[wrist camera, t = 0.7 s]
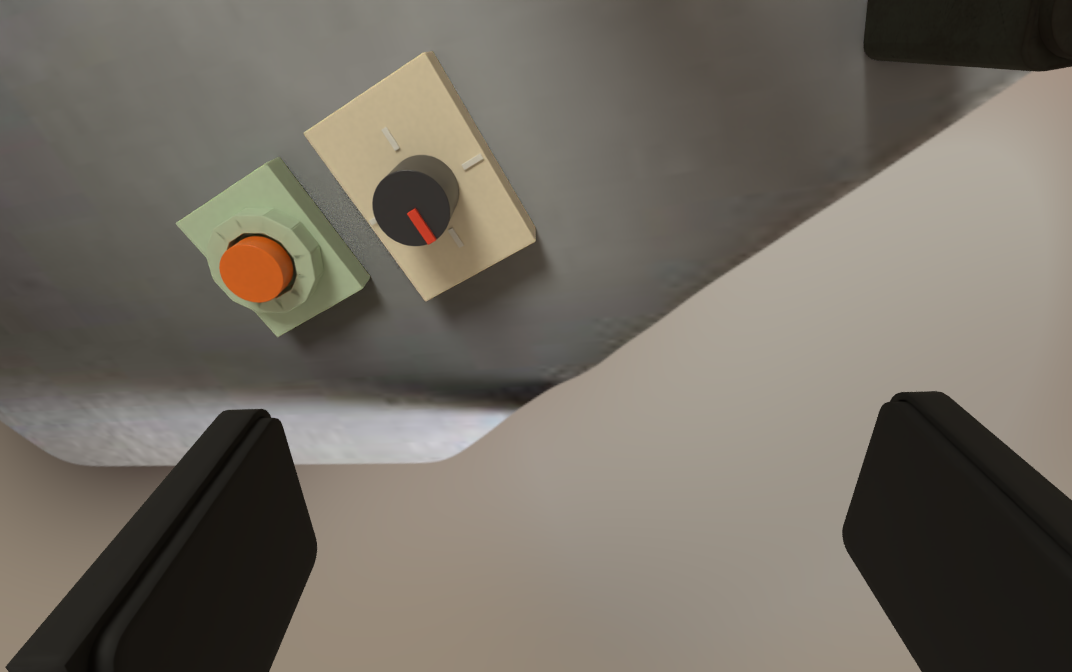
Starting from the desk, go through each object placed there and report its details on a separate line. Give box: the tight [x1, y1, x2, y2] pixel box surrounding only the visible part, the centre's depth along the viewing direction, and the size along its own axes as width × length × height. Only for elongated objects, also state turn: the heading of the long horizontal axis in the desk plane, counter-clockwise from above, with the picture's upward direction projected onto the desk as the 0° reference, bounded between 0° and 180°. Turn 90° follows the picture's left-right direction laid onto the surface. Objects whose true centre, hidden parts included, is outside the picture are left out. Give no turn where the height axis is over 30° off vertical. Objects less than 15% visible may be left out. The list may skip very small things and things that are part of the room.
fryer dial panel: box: [304, 51, 536, 301], centre depth 37 cm, size 13×9×3 cm
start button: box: [219, 236, 293, 303], centre depth 36 cm, size 4×4×2 cm
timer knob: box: [372, 155, 459, 246], centre depth 33 cm, size 4×4×5 cm
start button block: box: [176, 157, 370, 337], centre depth 39 cm, size 10×8×4 cm
